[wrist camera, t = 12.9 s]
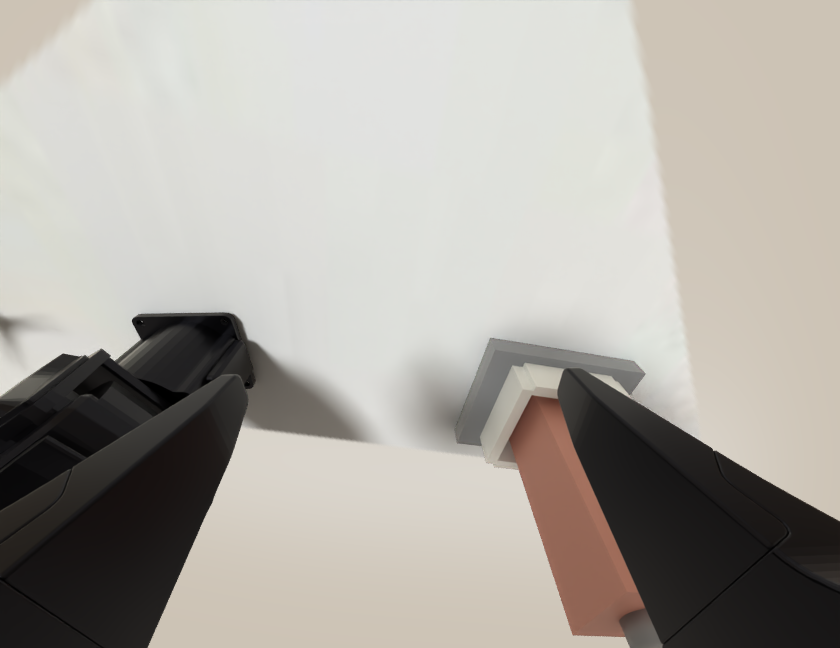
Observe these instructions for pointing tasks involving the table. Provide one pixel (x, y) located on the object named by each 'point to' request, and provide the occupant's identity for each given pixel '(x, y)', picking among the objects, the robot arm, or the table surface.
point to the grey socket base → (525, 390)
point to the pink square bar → (576, 531)
